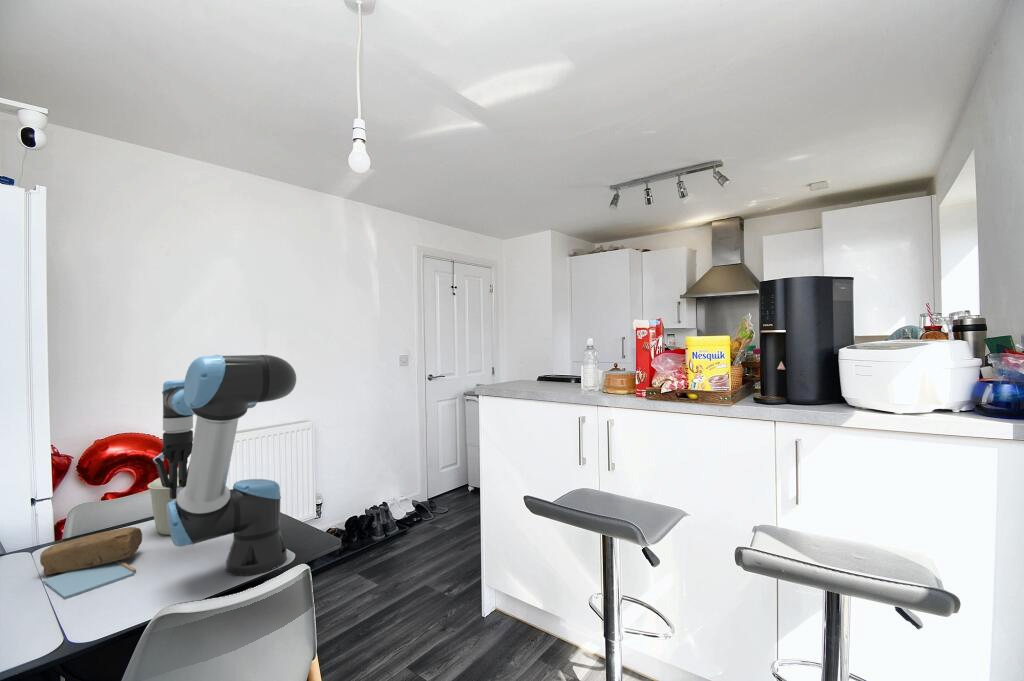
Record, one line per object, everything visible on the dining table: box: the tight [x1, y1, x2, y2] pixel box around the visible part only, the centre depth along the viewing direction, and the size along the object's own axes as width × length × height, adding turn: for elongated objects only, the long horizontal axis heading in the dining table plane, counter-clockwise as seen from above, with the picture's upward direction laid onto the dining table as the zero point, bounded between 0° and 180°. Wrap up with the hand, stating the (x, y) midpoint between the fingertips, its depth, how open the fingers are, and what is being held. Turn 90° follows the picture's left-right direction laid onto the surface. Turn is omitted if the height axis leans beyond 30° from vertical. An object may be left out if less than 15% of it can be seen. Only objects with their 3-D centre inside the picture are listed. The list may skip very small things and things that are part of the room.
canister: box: [147, 466, 188, 536], centre depth 157 cm, size 18×18×21 cm
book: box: [42, 559, 137, 600], centre depth 124 cm, size 16×15×1 cm
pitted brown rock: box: [39, 526, 143, 576], centre depth 132 cm, size 11×8×20 cm
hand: (177, 508), depth 141 cm, fingers closed
